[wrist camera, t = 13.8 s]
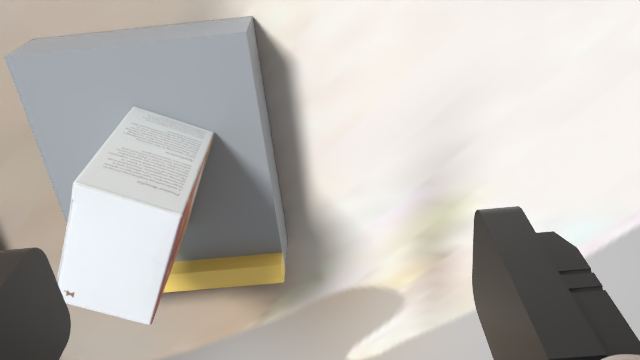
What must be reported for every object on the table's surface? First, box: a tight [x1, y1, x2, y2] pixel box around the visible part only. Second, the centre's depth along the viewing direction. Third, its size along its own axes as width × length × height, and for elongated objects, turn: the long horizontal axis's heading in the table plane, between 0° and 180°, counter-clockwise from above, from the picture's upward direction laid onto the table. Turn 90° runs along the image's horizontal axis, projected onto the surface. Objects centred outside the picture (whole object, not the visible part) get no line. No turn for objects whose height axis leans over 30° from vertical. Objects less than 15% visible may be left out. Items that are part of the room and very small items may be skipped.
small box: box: [56, 107, 214, 325], centre depth 35 cm, size 8×6×10 cm
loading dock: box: [5, 16, 288, 293], centre depth 41 cm, size 18×15×6 cm
